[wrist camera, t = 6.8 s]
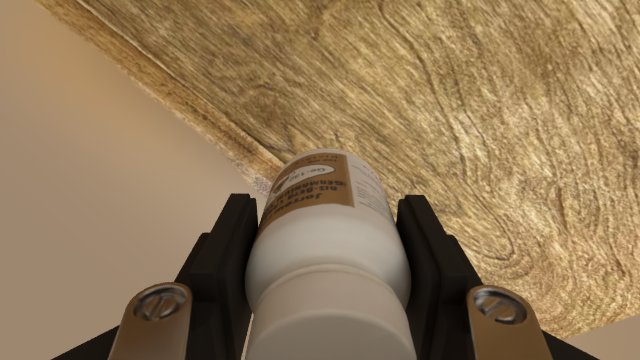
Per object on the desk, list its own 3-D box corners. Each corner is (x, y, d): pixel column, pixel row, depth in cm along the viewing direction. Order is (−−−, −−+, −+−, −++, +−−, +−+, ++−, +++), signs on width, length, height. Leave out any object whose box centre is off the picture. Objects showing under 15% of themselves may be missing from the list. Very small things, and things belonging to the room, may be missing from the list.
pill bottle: (320, 120, 13) (317, 245, 6) (406, 193, 14) (492, 372, 7) (247, 203, 14) (172, 386, 7) (331, 263, 15) (338, 472, 8)
